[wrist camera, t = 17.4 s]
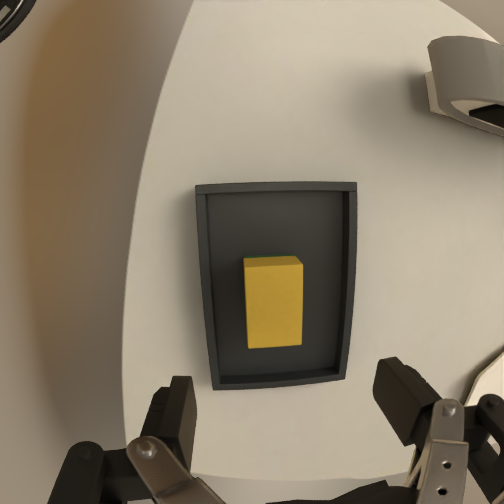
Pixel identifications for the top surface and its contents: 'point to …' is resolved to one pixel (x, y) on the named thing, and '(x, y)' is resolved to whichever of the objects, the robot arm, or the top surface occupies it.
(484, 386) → the plate
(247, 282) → the sponge
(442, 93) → the alarm clock
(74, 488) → the robot arm
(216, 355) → the tray
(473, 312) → the top surface
